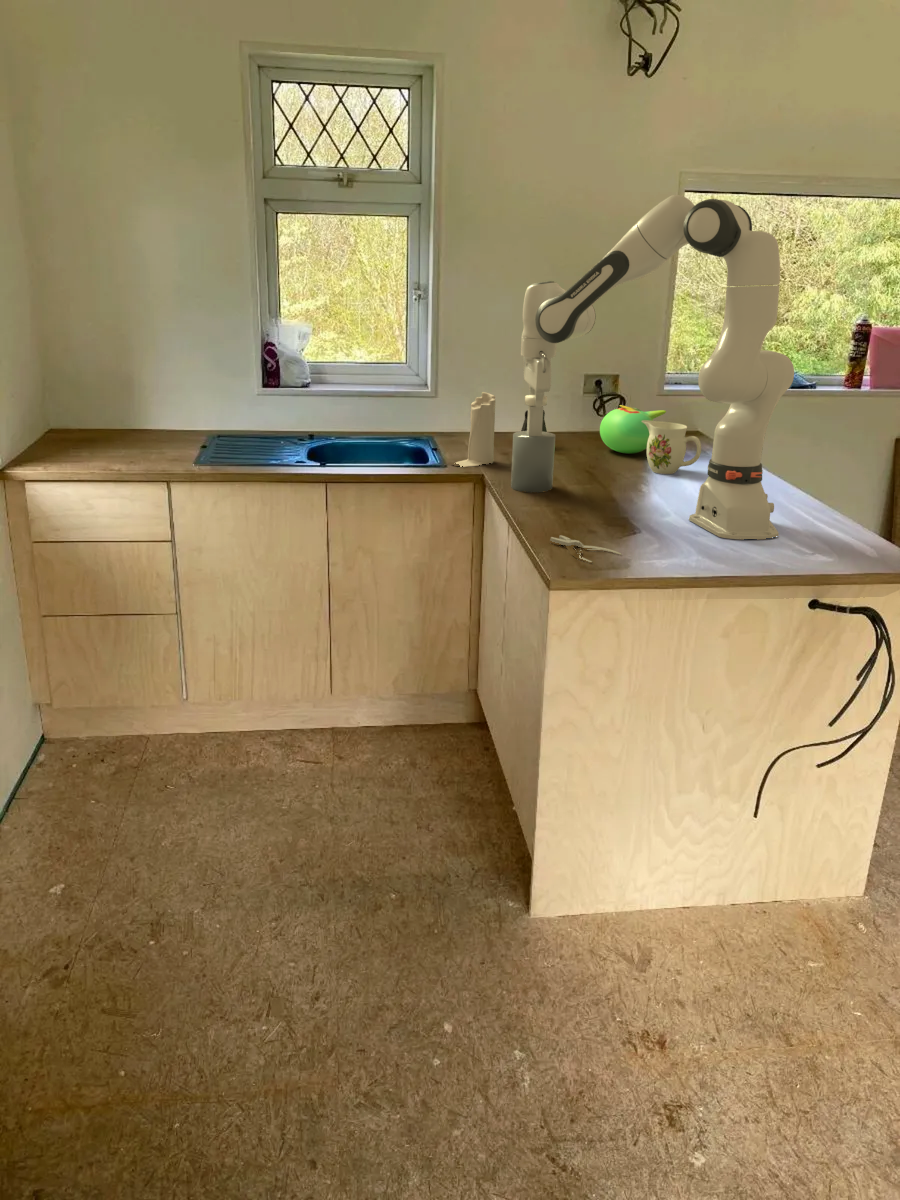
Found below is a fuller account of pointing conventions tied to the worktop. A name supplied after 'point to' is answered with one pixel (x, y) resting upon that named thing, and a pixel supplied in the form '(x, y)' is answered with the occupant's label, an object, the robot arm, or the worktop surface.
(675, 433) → the pitcher
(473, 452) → the candle
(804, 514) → the worktop surface
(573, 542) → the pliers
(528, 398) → the pump head
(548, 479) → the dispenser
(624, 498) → the worktop surface
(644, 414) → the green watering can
